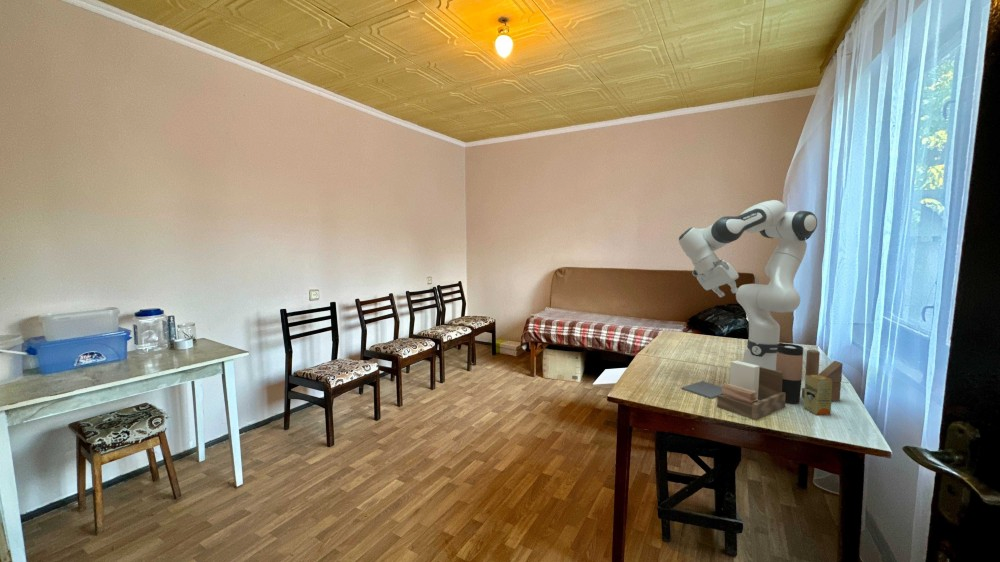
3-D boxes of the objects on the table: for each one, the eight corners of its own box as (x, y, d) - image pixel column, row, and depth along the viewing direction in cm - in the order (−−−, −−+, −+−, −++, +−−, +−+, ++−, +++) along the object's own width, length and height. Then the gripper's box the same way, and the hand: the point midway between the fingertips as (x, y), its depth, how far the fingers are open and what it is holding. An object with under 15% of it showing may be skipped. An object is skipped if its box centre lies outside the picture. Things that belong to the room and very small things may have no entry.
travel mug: (769, 396, 145) (772, 343, 143) (790, 396, 145) (793, 343, 143) (783, 404, 137) (786, 348, 135) (805, 404, 137) (809, 348, 135)
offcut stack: (727, 404, 138) (728, 383, 137) (757, 414, 129) (758, 392, 129) (720, 406, 136) (721, 385, 135) (751, 417, 127) (752, 394, 127)
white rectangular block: (734, 397, 144) (735, 360, 143) (757, 404, 137) (759, 365, 136) (728, 399, 142) (730, 361, 141) (752, 406, 135) (754, 367, 134)
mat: (702, 382, 160) (702, 380, 160) (732, 391, 150) (732, 390, 149) (681, 388, 153) (681, 387, 153) (711, 398, 142) (711, 397, 142)
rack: (747, 395, 146) (748, 364, 145) (784, 406, 135) (786, 373, 134) (717, 406, 136) (718, 373, 134) (755, 420, 125) (757, 383, 124)
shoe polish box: (815, 415, 128) (818, 379, 127) (803, 409, 133) (805, 374, 132) (830, 415, 128) (832, 379, 127) (817, 408, 133) (819, 374, 132)
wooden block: (840, 402, 139) (843, 352, 138) (808, 401, 140) (811, 352, 138) (832, 398, 143) (835, 350, 141) (801, 397, 144) (804, 349, 142)
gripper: (729, 254, 145) (752, 285, 143) (702, 267, 165) (722, 294, 163) (715, 262, 145) (738, 294, 142) (690, 274, 165) (709, 302, 162)
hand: (729, 294), depth 153 cm, fingers open, 8 cm apart
